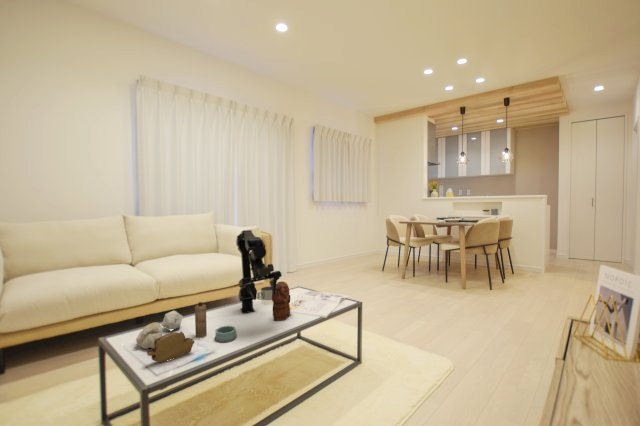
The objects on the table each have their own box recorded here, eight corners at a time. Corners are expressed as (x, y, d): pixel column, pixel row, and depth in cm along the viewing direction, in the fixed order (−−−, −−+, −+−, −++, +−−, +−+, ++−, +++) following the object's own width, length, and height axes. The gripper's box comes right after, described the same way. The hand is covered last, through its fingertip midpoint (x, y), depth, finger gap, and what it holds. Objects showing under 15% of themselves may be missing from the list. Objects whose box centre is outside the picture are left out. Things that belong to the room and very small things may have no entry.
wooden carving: (190, 349, 127) (189, 324, 127) (195, 353, 124) (194, 327, 124) (145, 365, 116) (144, 337, 115) (149, 369, 112) (148, 341, 112)
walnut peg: (195, 334, 141) (194, 301, 141) (206, 332, 143) (205, 300, 142) (195, 338, 137) (195, 304, 136) (207, 336, 139) (206, 303, 138)
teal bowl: (213, 335, 140) (213, 327, 140) (235, 332, 144) (234, 324, 143) (215, 344, 131) (215, 335, 131) (238, 340, 135) (238, 331, 135)
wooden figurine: (282, 322, 154) (282, 285, 154) (271, 320, 156) (270, 284, 156) (292, 314, 166) (292, 279, 165) (281, 312, 168) (281, 278, 167)
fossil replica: (143, 354, 124) (168, 347, 132) (146, 333, 124) (170, 327, 132) (129, 344, 131) (154, 337, 139) (131, 323, 131) (156, 318, 139)
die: (158, 334, 143) (168, 319, 140) (158, 319, 149) (167, 305, 147) (177, 336, 148) (186, 321, 145) (175, 321, 154) (185, 307, 152)
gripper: (242, 262, 136) (250, 298, 132) (281, 255, 146) (290, 289, 142) (235, 269, 145) (242, 303, 141) (273, 262, 155) (281, 294, 151)
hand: (264, 297), depth 143 cm, fingers open, 9 cm apart
